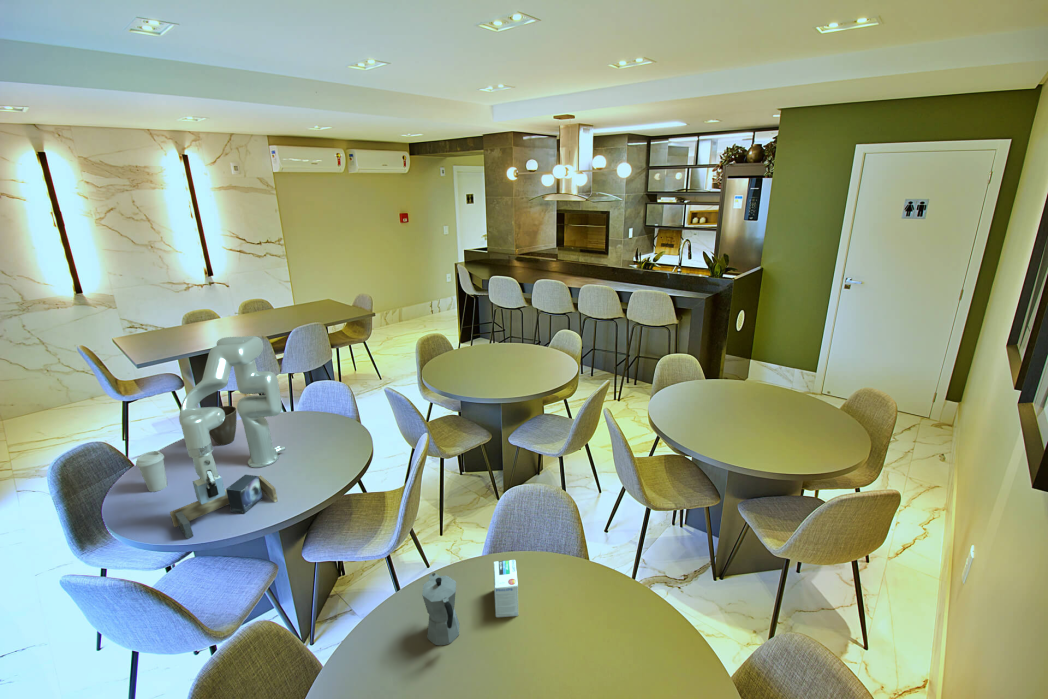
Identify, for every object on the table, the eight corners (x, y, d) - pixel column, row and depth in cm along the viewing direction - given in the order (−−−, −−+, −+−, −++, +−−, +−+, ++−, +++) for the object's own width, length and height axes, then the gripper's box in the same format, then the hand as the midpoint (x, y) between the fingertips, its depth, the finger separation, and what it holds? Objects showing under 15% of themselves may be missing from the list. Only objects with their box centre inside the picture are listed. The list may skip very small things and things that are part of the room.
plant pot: (210, 438, 250) (202, 409, 245) (243, 432, 256) (237, 403, 251) (206, 452, 237) (198, 421, 232) (241, 444, 243) (234, 414, 238)
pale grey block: (220, 489, 190) (216, 472, 187) (225, 494, 186) (221, 477, 184) (196, 498, 184) (192, 480, 182) (201, 504, 180) (197, 486, 178)
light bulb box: (494, 589, 152) (492, 560, 148) (516, 587, 152) (515, 558, 149) (495, 618, 141) (493, 588, 138) (519, 616, 142) (518, 585, 139)
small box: (245, 514, 190) (239, 490, 187) (230, 512, 192) (224, 489, 188) (264, 498, 200) (259, 475, 197) (249, 496, 201) (244, 473, 198)
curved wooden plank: (263, 487, 207) (260, 475, 205) (277, 501, 198) (275, 487, 196) (173, 525, 185) (169, 512, 183) (185, 542, 176) (181, 528, 174)
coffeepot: (419, 621, 141) (413, 569, 135) (451, 608, 145) (446, 557, 140) (437, 664, 128) (431, 609, 123) (471, 648, 132) (467, 594, 127)
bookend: (185, 524, 185) (181, 510, 183) (193, 535, 179) (189, 522, 177) (178, 526, 184) (174, 513, 182) (187, 538, 177) (183, 525, 175)
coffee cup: (177, 483, 212) (168, 451, 207) (155, 495, 204) (145, 463, 199) (161, 479, 215) (152, 448, 210) (138, 491, 207) (128, 459, 202)
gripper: (219, 452, 176) (230, 497, 182) (204, 438, 187) (214, 480, 193) (195, 460, 171) (207, 506, 176) (181, 445, 182) (192, 489, 187)
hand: (210, 492), depth 184 cm, fingers closed on pale grey block, 5 cm apart
